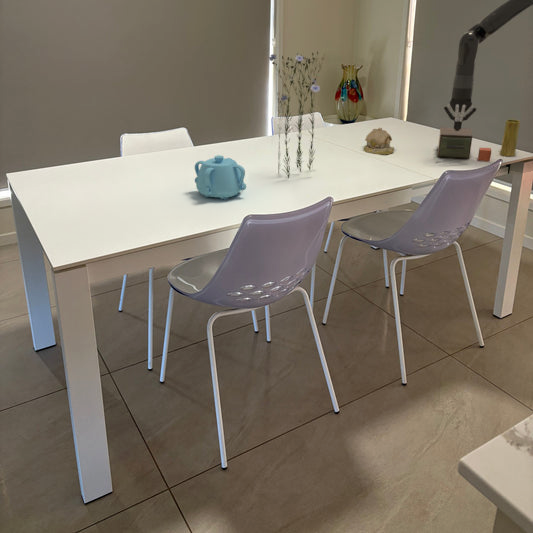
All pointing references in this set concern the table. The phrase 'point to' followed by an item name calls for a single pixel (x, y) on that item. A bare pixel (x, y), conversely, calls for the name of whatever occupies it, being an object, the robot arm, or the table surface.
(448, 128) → the cabinet
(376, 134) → the ceramic model
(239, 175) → the decorative pot
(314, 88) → the wildflower
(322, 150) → the table surface
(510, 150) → the vase
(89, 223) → the table surface
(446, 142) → the drawer
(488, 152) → the block
